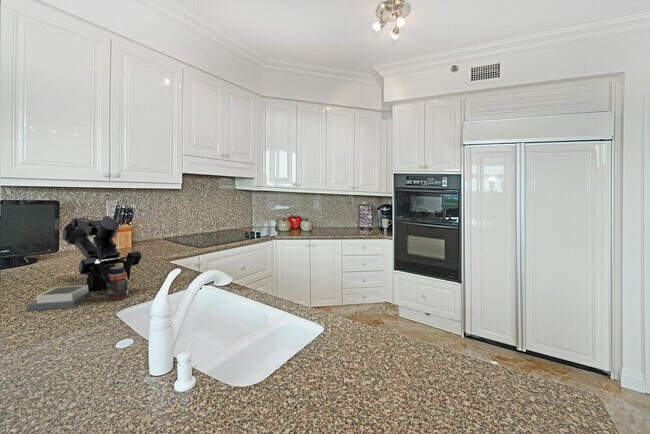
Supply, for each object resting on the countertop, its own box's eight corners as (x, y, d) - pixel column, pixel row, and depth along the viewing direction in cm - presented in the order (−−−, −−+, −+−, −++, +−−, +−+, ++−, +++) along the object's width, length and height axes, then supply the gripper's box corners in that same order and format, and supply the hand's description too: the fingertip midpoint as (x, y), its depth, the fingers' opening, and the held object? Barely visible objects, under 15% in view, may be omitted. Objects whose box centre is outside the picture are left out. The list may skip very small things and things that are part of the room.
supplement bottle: (132, 295, 112) (130, 265, 111) (119, 301, 106) (118, 269, 105) (117, 294, 113) (115, 265, 112) (104, 300, 107) (102, 269, 106)
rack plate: (91, 296, 111) (90, 284, 111) (74, 307, 100) (73, 294, 100) (49, 299, 108) (48, 287, 108) (27, 311, 97) (25, 297, 97)
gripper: (127, 255, 125) (141, 286, 120) (70, 264, 110) (82, 300, 105) (135, 238, 120) (149, 270, 114) (76, 245, 105) (89, 282, 99)
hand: (119, 280), depth 108 cm, fingers closed on supplement bottle, 6 cm apart
